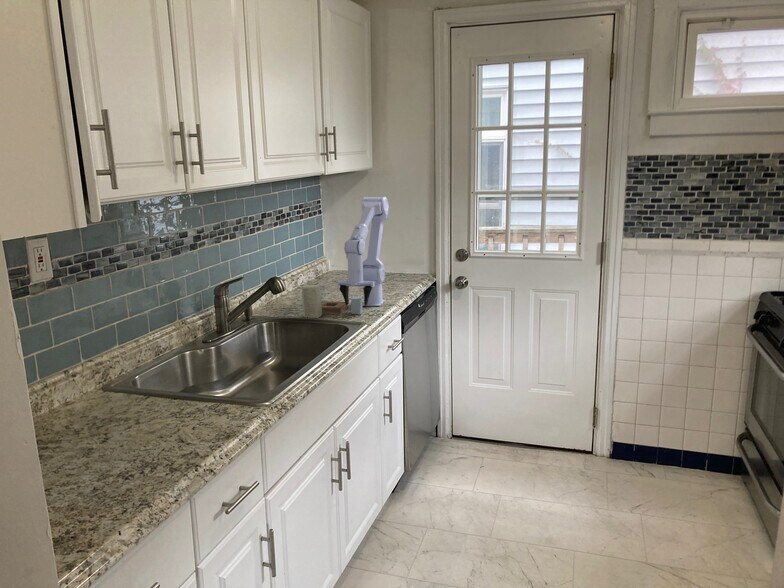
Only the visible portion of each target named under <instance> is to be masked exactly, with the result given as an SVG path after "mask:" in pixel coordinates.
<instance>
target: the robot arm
mask: <svg viewBox="0 0 784 588" xmlns="http://www.w3.org/2000/svg"><path fill="white" fill-rule="evenodd" d="M389 206H390V205H389V200H388V198H387V197H386V196H382V197H381V196H380V197H379V196H377V197H376V196H375V197H370V196H364V197H363V198H362V200H361V210H362V213H361V216H360V220H359V223H358V224H355V226H354V227H353V230H352V232H351V236H350V238H349V239H347V240H346V241H345V243H344V247H343V248H344V249H343V250H344V253H345V258H346V259H347V276H348V277H347V279H345V280H337V282H336V283H337V284H336V285H337V287H339V288H338V289H339V291H340V293H341V295H342V297H343V300H344V302H345V304H346V305H349V304H350V301H349V299H350V297H349V290H350V289H349V288H350V287H363V288H362V290H363V302H362V307H365V306H366V307H380V306H381V305H382V304H384V303H385V302H386V300H385V299H383V298H384V297H383V296H384V295H383V286H382V283H383V282H384V281H385V278H386V271H385V270H386V269H385V268H386V267H385V264H384V263H383V262H382V261H381V260H380V254H381V246H382V240H383V239H382V237H383V233H384V232H383V230H384V222H385V220H387V219H388V215H389ZM370 224H371V225H370ZM369 225H370V234H369V228H368V227H369ZM368 235H369V239H368V249H367V257H366V259H364V260H363V254H364V253H365V249H366V248H365V247H366V239H367V237H368Z"/></svg>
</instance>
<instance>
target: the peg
mask: <svg viewBox="0 0 784 588" xmlns="http://www.w3.org/2000/svg"><path fill="white" fill-rule="evenodd" d="M362 303H363V297H362V296H352V297H351V298H350V309H351V311H350V312H351V313H350V314H352V315H361V314H362V313H363V306H362Z"/></svg>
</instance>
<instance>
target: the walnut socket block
mask: <svg viewBox="0 0 784 588" xmlns="http://www.w3.org/2000/svg"><path fill="white" fill-rule="evenodd" d="M348 305H349V304H348ZM348 305H346V304H345V301H334V300H333V301H328V300H327V301H326V300H321V306H322V315H341V314H343V312H344V310H345V311H346V310H347V309H349V306H348Z"/></svg>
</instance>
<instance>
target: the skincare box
mask: <svg viewBox="0 0 784 588" xmlns="http://www.w3.org/2000/svg"><path fill="white" fill-rule="evenodd" d="M300 288H301V299H302V309H303V311H302V312H303V318H307V317H308V318H309V319H310V318H312V319H316V318H317V319H319V318H320V317H321V316H323V314H322V306H321V301H322V296H321V295H322V293H321V284H305V285H303V286H301V287H300ZM308 318H307V319H308Z"/></svg>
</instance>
